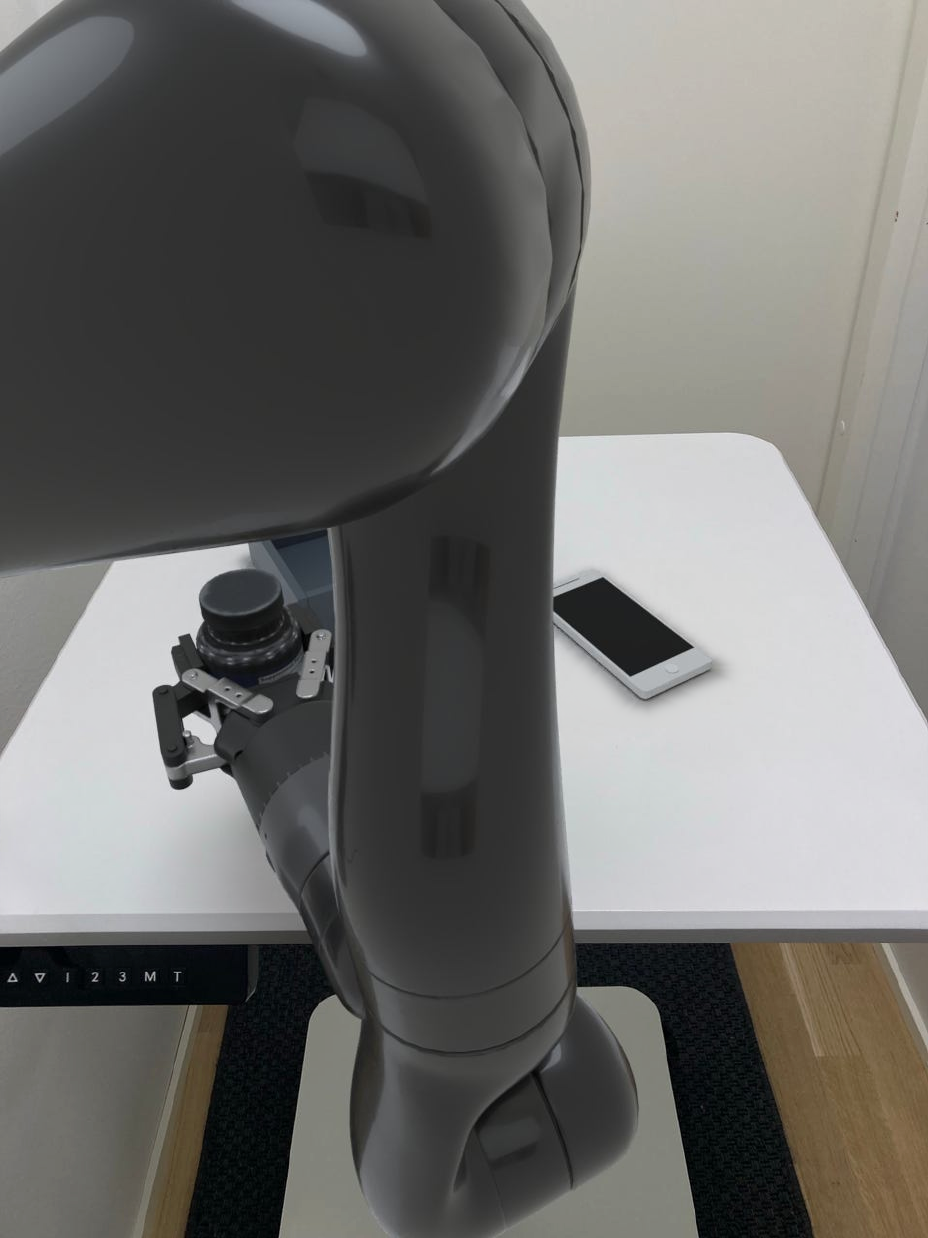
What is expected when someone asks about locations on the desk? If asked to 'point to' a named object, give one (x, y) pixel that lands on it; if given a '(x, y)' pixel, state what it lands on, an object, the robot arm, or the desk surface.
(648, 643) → the smartphone
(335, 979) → the robot arm
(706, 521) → the desk surface
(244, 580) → the pill bottle
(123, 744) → the desk surface
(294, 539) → the open box
